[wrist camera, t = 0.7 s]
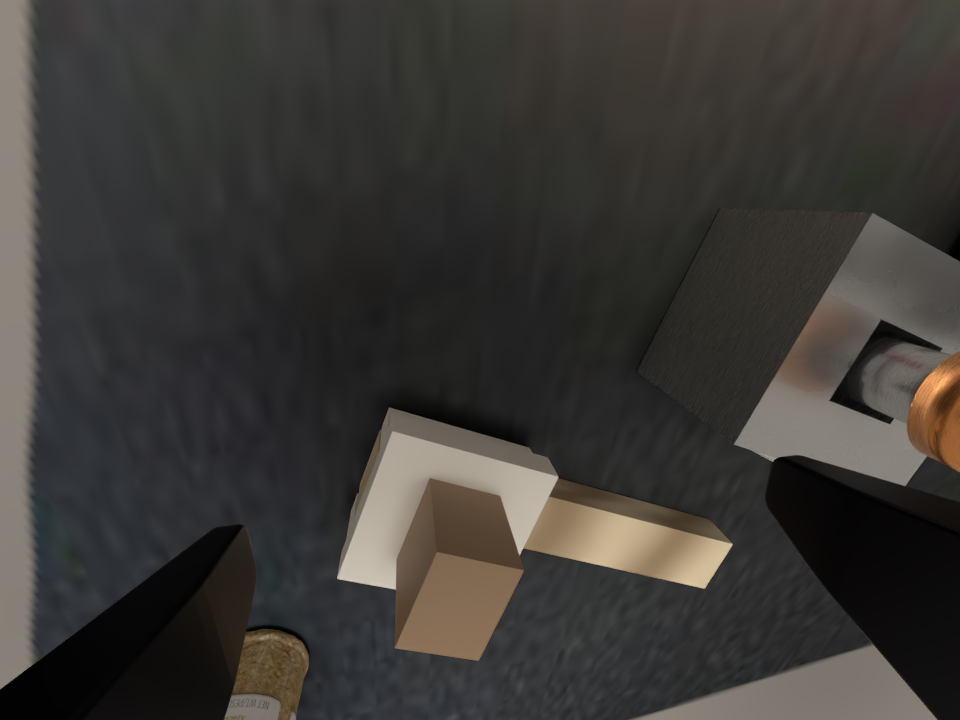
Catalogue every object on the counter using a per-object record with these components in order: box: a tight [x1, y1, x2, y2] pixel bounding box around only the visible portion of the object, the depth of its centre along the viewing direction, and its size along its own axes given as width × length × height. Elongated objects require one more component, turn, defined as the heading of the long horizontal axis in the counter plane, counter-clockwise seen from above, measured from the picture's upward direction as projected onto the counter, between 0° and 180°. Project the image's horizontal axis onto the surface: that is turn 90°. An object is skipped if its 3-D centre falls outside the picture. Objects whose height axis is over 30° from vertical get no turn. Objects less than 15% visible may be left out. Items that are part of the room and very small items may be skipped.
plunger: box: [835, 332, 960, 472], centre depth 15 cm, size 4×4×6 cm
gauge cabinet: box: [637, 208, 960, 486], centre depth 19 cm, size 8×8×7 cm
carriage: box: [337, 408, 558, 661], centre depth 19 cm, size 7×7×8 cm
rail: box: [356, 430, 733, 589], centre depth 23 cm, size 19×3×2 cm, turn 68°
